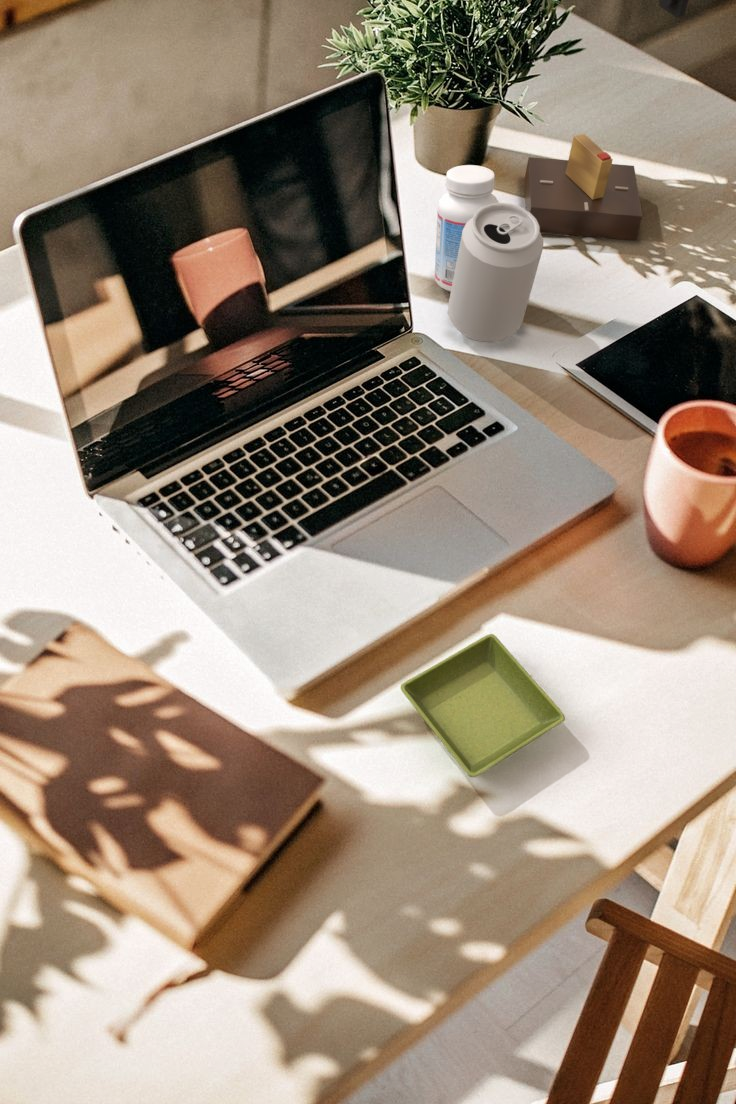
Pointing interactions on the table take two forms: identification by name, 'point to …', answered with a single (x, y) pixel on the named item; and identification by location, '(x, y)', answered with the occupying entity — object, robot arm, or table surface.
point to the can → (495, 272)
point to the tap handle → (588, 166)
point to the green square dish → (482, 704)
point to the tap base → (582, 201)
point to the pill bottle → (459, 214)
